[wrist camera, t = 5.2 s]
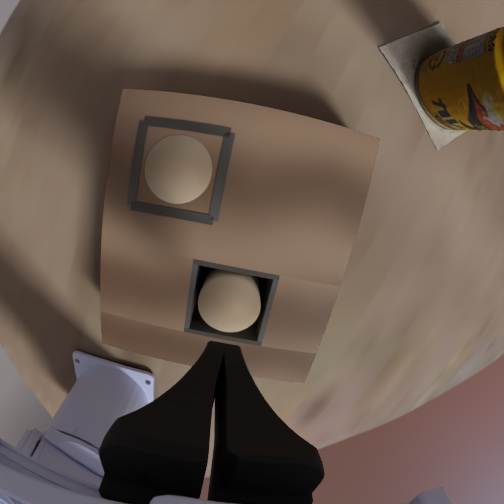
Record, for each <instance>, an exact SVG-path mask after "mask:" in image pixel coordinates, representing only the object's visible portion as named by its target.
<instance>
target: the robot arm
mask: <svg viewBox="0 0 504 504" xmlns="http://www.w3.org/2000/svg"><path fill="white" fill-rule="evenodd" d="M72 356H73V362H74V368H75V374H76V379H77V381H76V382H75V384H74V386H73V387H72V389H71V390H70V392H69V393H68V395H67V396H66V398H65V400H64V401H63V403H62V404H61V406H60V408H59V409H58V411H57V413H56V414H55V416H54V417H53V419H52V421H51V423H50V424H49V426H48V427H47V429H46V430H45V431H44V432H43V434H42V435H41V432H40V431H38V430H37V429H33V430H32V429H29V430H26V431H25V433H24V435H23V436H22V438H21V440H20V441H19V443H18V444H17V446H16V447H13V446H12V445H10V444H8V443H6V442H5V441H3V440H2V439H0V504H312V502H313V498H312V492H313V491H314V490H315V489H316V488H317V486H318V485H319V484H320V483H321V481H322V479H323V478H324V468H323V464H322V461H321V458H320V456H319V453H318V450H317V448H315V447H314V446H313V445H311V444H310V443H308V442H307V441H305V440H304V439H303V438H301V437H300V436H299V435H297V434H296V433H295V432H294V431H293V430H292V429H290V428H289V427H288V426H287V425H286V424H285V423H284V422H283V421H282V420H281V419H280V418H279V417H278V416H277V414H276V413H275V412H274V411H273V410H272V408H271V407H270V406H269V404H268V403H267V402H266V400H265V399H264V397H263V396H262V394H261V393H260V391H259V389H258V388H257V386H256V384H255V382H254V380H253V378H252V376H251V374H250V372H249V370H248V368H247V365H246V363H245V360H244V357H243V354H242V351H241V348H240V346H238V345H232V344H227V343H221V342H216V341H209V342H208V343H207V346H206V348H205V349H204V351H203V353H202V354H201V356H200V357H199V359H198V360H197V361H196V362H195V364H194V365H193V366H192V368H191V369H190V370H189V371H188V372H187V373H186V374H185V375H184V376H183V377H182V378H181V379H180V380H179V381H178V382H177V383H176V384H175V385H174V386H173V387H171V388H170V389H169V390H168V391H166V392H165V393H164V394H162V395H161V396H160V397H158V398H157V399H155V400H154V375H153V374H152V373H150V372H147V371H143V370H140V369H136V368H132V367H129V366H125V365H121V364H118V363H115V362H111V361H108V360H105V359H101V358H98V357H95V356H92V355H89V354H86V353H83V352H80V351H77V350H76V351H74V352H73V354H72ZM147 380H148V381H150V382H148V381H147ZM214 399H215V438H214V450H213V459H212V467H211V475H210V484H209V492H208V500H201V499H199V497H200V494H201V489H202V485H203V480H204V476H205V472H206V467H207V462H208V453H209V440H210V427H211V416H212V407H213V403H214ZM40 435H41V436H40ZM406 504H450V501H449V499H448V496H447V494H446V492H445V490H444V488H443V487H440V488H436V489H433V490H429V491H426V492H423V493H421V494H419V495H417V496H416V497H415V498H413V499H412V501H411V502H410V503H406Z"/></svg>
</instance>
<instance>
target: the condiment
mask: <svg viewBox="0 0 504 504" xmlns="http://www.w3.org/2000/svg"><path fill="white" fill-rule="evenodd" d="M379 48H380V50H381V51H382V53H383V54H384V55H385V57H386V58H387V60H388V62H389V63H390V65H391V66H392V68H393V69H394V70H395V72H396V74H397V76H398V77H399V79H400V81H401V82H402V83H403V85H404V87H405V89H406V91H407V93H408V95H409V96H410V98H411V100H412V102H413V104H414V106H415V108H416V110H417V111H418V113H419V115H420V117H421V119H422V121H423V123H424V125H425V127H426V129H427V131H428V132H429V135H430V137H431V139H432V141H433V143H434V145H435V147H436V148H437V150H439V149H440V148H442V147H443V146H445V145H447V144H448V143H449V142H451V141H452V140H453V139H455V138H456V137H458V136H459V135H461V134H462V133H464V132H465V131H467V130H471V131H476V130H498V131H500V130H504V27H502V28H497V29H495V30H493V31H490V32H487V33H485V34H482V35H480V36H477V37H475V38H472V39H469V40H466V41H464V42H461V43H459V44H456V45H455V43H454V41H453V40H452V37H451V36H450V34H449V32H448V31H447V29H446V28H445V26H444V25H443V23H439V24H436V25H434V26H431V27H428V28H426V29H423V30H420V31H418V32H415V33H413V34H410V35H408V36H405V37H403V38H400V39H398V40H395V41H393V42H391V43H388V44H386V45H384V46H381V47H379ZM413 60H415V64H413ZM413 65H415V69H414V68H413Z"/></svg>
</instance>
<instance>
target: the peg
mask: <svg viewBox="0 0 504 504" xmlns="http://www.w3.org/2000/svg"><path fill="white" fill-rule="evenodd" d="M260 308H261V303H260V288H259V277H257V276H252V275H247V274H242V273H236V272H231V271H226V270H221V269H216V268H211V267H209V269H208V272H207V274H206V277H205V280H204V283H203V286H202V289H201V292H200V295H199V298H198V309H199V312H200V315H201V317H202V318H203V320H204V321H205V322H206V323H207V324H208V325H210V326H211V327H213V328H214V329H217V330H219V331H223V332H238V331H241V330H244V329H246V328H248V327H249V326H251V325H252V324H253V323H254V322H255V321H256V319H257V318H258V316H259V313H260Z"/></svg>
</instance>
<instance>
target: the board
mask: <svg viewBox="0 0 504 504" xmlns="http://www.w3.org/2000/svg"><path fill="white" fill-rule="evenodd" d="M379 140H380V138H377V137H374V136H371V135H368V134H365V133H362V132H359V131H356V130H353V129H349V128H346V127H343V126H340V125H336V124H333V123H329V122H326V121H322V120H319V119H315V118H311V117H307V116H303V115H299V114H295V113H291V112H287V111H283V110H278V109H274V108H269V107H265V106H260V105H255V104H250V103H244V102H239V101H233V100H227V99H221V98H214V97H208V96H200V95H193V94H184V93H175V92H165V91H153V90H139V89H123V90H122V94H121V98H120V103H119V108H118V112H117V117H116V123H115V128H114V133H113V139H112V145H111V151H110V158H109V165H108V173H107V181H106V189H105V199H104V210H103V222H102V239H101V265H100V304H101V331H102V343H103V344H106V345H110V346H113V347H117V348H120V349H124V350H127V351H131V352H135V353H139V354H142V355H146V356H150V357H154V358H159V359H163V360H167V361H171V362H176V363H180V364H185V365H190V366H193V365H194V364H195V362H196V361H197V360H198V359H199V357H200V356H201V354H202V353H203V351H204V349H205V348H206V346H207V343H208V342H209V341H216V342H221V343H227V344H232V345H238V346H240V348H241V351H242V354H243V357H244V360H245V363H246V365H247V368H248V370H249V372H250V374H251V376H252V377H259V378H266V379H274V380H282V381H291V382H301V383H304V382H305V380H306V378H307V375H308V373H309V370H310V368H311V365H312V363H313V360H314V358H315V355H316V353H317V350H318V347H319V345H320V342H321V340H322V337H323V334H324V332H325V329H326V326H327V323H328V321H329V318H330V315H331V312H332V309H333V306H334V304H335V301H336V298H337V295H338V292H339V289H340V286H341V283H342V280H343V277H344V273H345V270H346V267H347V264H348V261H349V257H350V254H351V251H352V247H353V244H354V241H355V237H356V234H357V230H358V227H359V223H360V219H361V216H362V212H363V208H364V204H365V201H366V197H367V193H368V189H369V185H370V181H371V176H372V172H373V168H374V163H375V159H376V154H377V150H378V145H379ZM201 266H206V267H211V268H216V269H221V270H226V271H231V272H236V273H242V274H247V275H252V276H257V277H263V278H268V281H267V285H266V289H265V293H264V297H263V301H262V305H261V309H260V313H259V316H258V318H257V319H256V321H255V322H254V323H253V324H252V325H251V326H249V327H248V328H246V329H244V330H241V331H238V332H223V331H219V330H217V329H214V328H213V327H211V326H210V325H208V324H207V323H206V322H205V321H204V320H203V318H202V317H201V315H200V312H199V309H198V303H196V297H197V290H198V284H199V277H200V271H201Z"/></svg>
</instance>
